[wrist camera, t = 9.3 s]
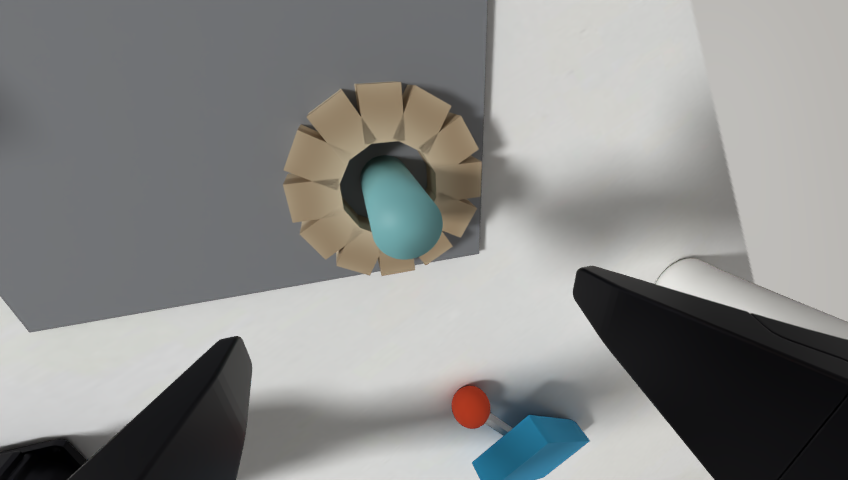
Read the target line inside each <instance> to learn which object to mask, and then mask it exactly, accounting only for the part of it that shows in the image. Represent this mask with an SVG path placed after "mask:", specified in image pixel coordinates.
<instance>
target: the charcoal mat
mask: <svg viewBox="0 0 848 480" xmlns="http://www.w3.org/2000/svg"><path fill="white" fill-rule="evenodd" d="M487 1H488V0H0V296H1V298H2V299H3V300H4V301H5V303H6V304H7V305H8V306H9V308H10V309H11V310H12V311H13V313H14V314H15V315H16V316H17V317H18V319H19V320H20V321H21V322H22V324H23V325H24V326H25V327H26V329H27V330H28V331H29V332H35V331H41V330H47V329H53V328H58V327H64V326H70V325H75V324H81V323H87V322H92V321H98V320H104V319H110V318H115V317H121V316H127V315H132V314H138V313H144V312H149V311H155V310H161V309H167V308H172V307H178V306H184V305H189V304H195V303H201V302H207V301H212V300H218V299H224V298H229V297H235V296H241V295H246V294H252V293H258V292H264V291H269V290H275V289H281V288H286V287H292V286H298V285H303V284H309V283H315V282H321V281H326V280H332V279H338V278H343V277H349V276H355V275H361V274H363V273H360V272H356V271H353V270H349V269H346V268H342V267H338V266H337V264H336V253H334V254H333V255H332V256H330V257H329V258H327V259H326V260H325V259H324V258H323V257H322V256H321V255H320V254H319V253H318V252H317V251H316V250H315V249H314V248H313V247H312V246H311V245H310V244H309V243H308V242H307V241H306V240H305V239H304V238H303V237H302V236H301V235H300V229H301V224H302V222H295V223H293V222H292V218H291V214H290V210H289V206H288V202H287V199H286V195H285V191H284V187H283V183H284V181H285V179H286V177H287V174H291V173H289V172H287V171H284V167H285V164H286V161H287V158H288V155H289V153H290V150H291V147H292V144H293V141H294V138H295V135H296V132H297V130H298V128H299V126H300V125H304V126H306V127H308V128H310V129H313V130H315V131H317V130H316V129H315V127H314V126H313V125H312V124H311V122H310V121H309V120H308V119H307V115H308V114H309V113H310V112H311V111H312V110H313V109H315V108H316V107H317V106H319V105H320V104H321V103H323V102H324V101H325V100H327V99H328V98H329V97H331V96H332V95H333V94H335V93H336V92H337V91H339V90H340V89H342V91H343V92H344V94H345V95H346V96H347V98H348V99H349V101H350V102H351V104H352V105H353V106H354V108H355V109H356V111H357V112H358V108H357V100H356V93H355V85H354V84H359V83H375V82H392V81H395V82H401V87H402V95H403V93H404V91H405V88H406V86H407V85H416V86H418V87H419V88H421V89H423V90H425V91H426V92H428V93H430V94H432V95H433V96H435V97H437V98H439V99H440V100H442V101H444V102H446V103H447V104H449V105H451V108H450V110H449V112H450V113H453V114H457V115H460V116H462V118H463V120H464V122H465V124H466V126H467V128H468V130H469V131H470V133H471V135H472V137H473V139H474V141H475V143H476V145H477V146H478V148H479V149H478V150H477V151H476V152H474V153H473V154H472V155H471V156H473V157H474V158H476V159H478V160H480V161H481V162H482V150H483V121H484V91H485V61H486V31H487ZM317 132H318V131H317ZM381 155H389V156H393V157H395V158H397V159H399V160H400V161H401V162H402V163H403V164H404V165H405V166H406V168H407V169H408V170H409V171H410V173H411V174H412V175H413V176H414V178H415V179H416V180H417V181H418V183H419V184H420V185H421V187H422V188H423V189H424V190H426V188H427V171H426V163H425V162H424V160H423V159H422V157H421V156H420V154H419V152H418V151H417V150H416V149H414V148H412V147H410V146H408V145H406V144H404V143H402V142H400V141H394V142H384V143H373V144H370V145H369V146H368V147H366V148H365V149H364V150H362V151H361V152H360V153H358V154H357V155H356V156H354V157H353V158H352V159H350V160H349V162H348V165H347V167H346V170H345V172H344V175H343V177H342V180H341V182H340V185H341V191H342V196H343V198H344V199H345V201H346V202H347V203H348V204H349V205H350V206H351V208H352V209H353V210H354V211H355V212H356V213H357V214H358V215H361V216H363V217H366V218H368V214H367V209H366V205H365V200H364V196H363V192H362V187H361V183H360V176H361V172H362V169H363V167H364V166H365V164H366V163H367V162H368V161H369V160H371V159H372V158H374V157H377V156H381ZM481 180H482V169H481ZM468 200H469V201H470V202H471V203H472V204H473V205H474V206H475V207H476V208H477V210H476V211H475V213H474V215H473V217H472V219H471V220H470V222H469V224H468V226H467V228H466V229H465V231H464V233H463V235H462V236H461V238H460V237H458V236H455V235H452V234H450V233H447V232H444V231H442V232H443V233H444V235H445V236H446V237H447V239H448V240H449V242H450V243H451V245H452V246H453V247H451V248H450V249H448V250H447V251H446V252H444V253H443V254H441V255H440V256H439V257H437V258H436V259H434V260H433V261H431V262H435V261H440V260H446V259H452V258H457V257H463V256H469V255H475V254H479V240H480V210H481V197H475V198H468ZM418 264H423V262H422V260H421V259H420V258H419V257H417V258H414V265H418ZM378 271H380V267H379V263H378V260H377V262H376V264H375V266H374V268H373V270H372V272H378ZM372 272H371V273H372Z"/></svg>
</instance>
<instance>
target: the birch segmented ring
mask: <svg viewBox="0 0 848 480" xmlns="http://www.w3.org/2000/svg"><path fill="white" fill-rule="evenodd" d="M354 85H355V93H356V100H357V108H358V112H357V111H356V109H355V108H354V106H353V105H352V104H351V102H350V101H349V99H348V98H347V96H346V95H345V94H344V92H343V91H342V89H340V90H339V91H337V92H336V93H335V94H333V95H332V96H331V97H329V98H328V99H327V100H325V101H324V102H323V103H321V104H320V105H319V106H317V107H316V108H315V109H313V110H312V111H311V112H310V113H309V114H308V115H307V119H308V120H309V121H310V122H311V124H312V125H313V126H314V127H315V129H316V130H317V131H318V132H317V131H315V130H313V129H310V128H308V127H306V126H304V125H300V126H299V128H298V130H297V132H296V135H295V138H294V141H293V144H292V147H291V150H290V153H289V155H288V158H287V161H286V164H285V167H284V171H287V172H289V173H291V174H287V177H286V179H285V181H284V183H283V187H284V191H285V195H286V199H287V202H288V206H289V210H290V214H291V218H292V222H293V223H295V222H302V224H301V229H300V235H301V236H302V237H303V238H304V239H305V240H306V241H307V242H308V243H309V244H310V245H311V246H312V247H313V248H314V249H315V250H316V251H317V252H318V253H319V254H320V255H321V256H322V257H323V258H324V259H325V260H326V259H327V258H329V257H330V256H332V255H333V254H334V253H336V264H337V266H338V267H342V268H346V269H349V270H353V271H356V272H360V273H363V274H367V275H370V274H371V272H372V270H373V268H374V266H375V264H376V262H377V260H378V263H379V267H380V271H381V275H382V276H384V275H390V274H396V273H401V272H407V271H413V270H415V265H414V258H413V259H407V260H401V259H396V258H392V257H390V256H388V255H386V254H385V253H383V252H382V251H381V250H380V249H379V248H378V247H377V245H376V243H375V242H374V239H373V235H372V231H371V227H370V222H369V218H366V217H363V216H361V215H358V214H357V213H356V212H355V211H354V210H353V209H352V208H351V206H350V205H349V204H348V203H347V202H346V201H345V199H344V198H343V196H342V191H341V185H340V182H341V180H342V177H343V175H344V172H345V170H346V167H347V165H348V162H349V160H350V159H352V158H353V157H354V156H356V155H357V154H358V153H360V152H361V151H362V150H364V149H365V148H366V147H368V146H369V145H370V144H373V143H384V142H394V141H400V142H402V143H404V144H406V145H408V146H410V147H412V148H414V149H416V150H417V151H418V152H419V154H420V156H421V157H422V159H423V160H424V162H425V163H426V171H427V188H426V190H425V192H426V193H427V194H428V195H429V197H430V198H431V199H432V200H433V202H434V203H435V204H436V205H437V207H438V208H439V210H440V212H441V215H442V220H443V228H442V231H444V232H447V233H450V234H452V235H455V236H458V237H460V238H461V236H462V235H463V233H464V231H465V229H466V228H467V226H468V224H469V222H470V220H471V219H472V217H473V215H474V213H475V211H476V210H477V208H476V207H475V206H474V205H473V204H472V203H471V202H470V201H469V200H468V198H475V197H481V169H482V162H481V161H480V160H478V159H476V158H474V157H473V156H471V155H472V154H473V153H474V152H476V151H477V150H478V149H479V148H478V146H477V145H476V143H475V141H474V139H473V137H472V135H471V133H470V131H469V130H468V128H467V126H466V124H465V122H464V120H463V118H462V116H460V115H457V114H453V113H450V112H449V110H450V108H451V105H449V104H447V103H446V102H444V101H442V100H440V99H439V98H437V97H435V96H433V95H432V94H430V93H428V92H426V91H425V90H423V89H421V88H419V87H418V86H416V85H407V86H406V88H405V91H404V93H403V95H402V87H401V82H395V81H392V82H375V83H359V84H354ZM451 247H453V246H452V245H451V243H450V242H449V240H448V239H447V237H446V236H445V235H444V233H443V232H441V236H440V238H439V240H438V241H437V243H436V244H435V246H434V247H433V248H432V249H431V250H430V251H428V252H427V253H425V254H424V255H422V256H420V257H419V258H420V259H421V260H422V262H423V263H424V264H425V265H427V264H429V263H430V262H431V261H433V260H434V259H436V258H437V257H439V256H440V255H441V254H443V253H444V252H446V251H447V250H448V249H450V248H451Z"/></svg>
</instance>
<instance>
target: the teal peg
mask: <svg viewBox="0 0 848 480" xmlns="http://www.w3.org/2000/svg"><path fill="white" fill-rule="evenodd" d="M360 183H361V187H362V192H363V196H364V200H365V205H366V209H367V214H368V218H369V222H370V227H371V231H372V235H373V239H374V242H375V243H376V245H377V247H378V248H379V249H380V250H381V251H382V252H383V253H385V254H386V255H388V256H390V257H392V258H396V259H401V260H407V259H413V258H417V257H420V256H422V255H424V254H425V253H427V252H428V251H430V250H431V249H432V248H433V247H434V246H435V244H436V243H437V241H438V240H439V238H440V236H441V232H442V228H443V220H442V215H441V212H440V210H439V208H438V207H437V205H436V204H435V203H434V202H433V200H432V199H431V198H430V197H429V195H428V194H427V193H426V192H425V190H424V189H423V188H422V187H421V185H420V184H419V183H418V181H417V180H416V179H415V178H414V176H413V175H412V174H411V173H410V171H409V170H408V169H407V168H406V166H405V165H404V164H403V163H402V162H401V161H400V160H399V159H397V158H395V157H393V156H389V155H381V156H377V157H374V158H372V159H371V160H369V161H368V162H367V163H366V164H365V166H364V167H363V169H362V172H361V176H360Z"/></svg>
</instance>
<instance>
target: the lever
mask: <svg viewBox="0 0 848 480" xmlns="http://www.w3.org/2000/svg"><path fill="white" fill-rule="evenodd" d="M452 412H453V414H454V417H455V419H456V420H457V421H458V422H459V423H460V424H461V425H462V426H464V427H466V428H470V429H475V428H479V427H480V426H482V425H484V424H487V425H488V426H490V427H491V428H493V429H494V430H496V431H497V432H499V433H500V434H502V435H503V437H502V438H501V439H499V440H498V441H497V442H496V443H495V444H493V445H492V446H491V447H490V448H489V449H488V450H486V451H485V452H484V453H483V454H482V455H480V456H479V457H478V458H477V459H476V460H474V461H473V462H472V464H473V466H474V468H475V470H476V472H477V474H478V476H479V478H480V480H536V479H540V478H543V477H545V476H546V475H547V474H549V473H550V472H551V471H552V470H554V469H555V468H556V467H557V466H559V465H560V464H561V463H563V462H564V461H565V460H566V459H568V458H569V457H570V456H571V455H573V454H574V453H575V452H577V451H578V450H579V449H580V448H582V447H583V446H584V445H585V444H587V443H588V442H589V441H590V440H589V439H588V438H587V436H586V435H585V434H584V432H583V431H582V430H581V429H580V427H579V426H578V425H577V423H576V422H574V421H573V420H570V419H561V418H552V417H544V416H535V415H528V416H527V417H526V418H525V419H523V420H522V421H521V422H520V423H519V424H517V425H516V426H515V427H514V428H512V427H510V426H509V425H507V424H506V423H505V422H503V421H502V420H500V419H499V418H497V417H496V416H494V415H493V414H491V413H490V402H489V399H488V397H487V396H486V394H485V393H484V392H483V391H482V390H481V389H479V388H477V387H475V386H465V387H462V388H461V389H459V390H458V391H457V392H456V393H455V395H454V397H453V400H452Z"/></svg>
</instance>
